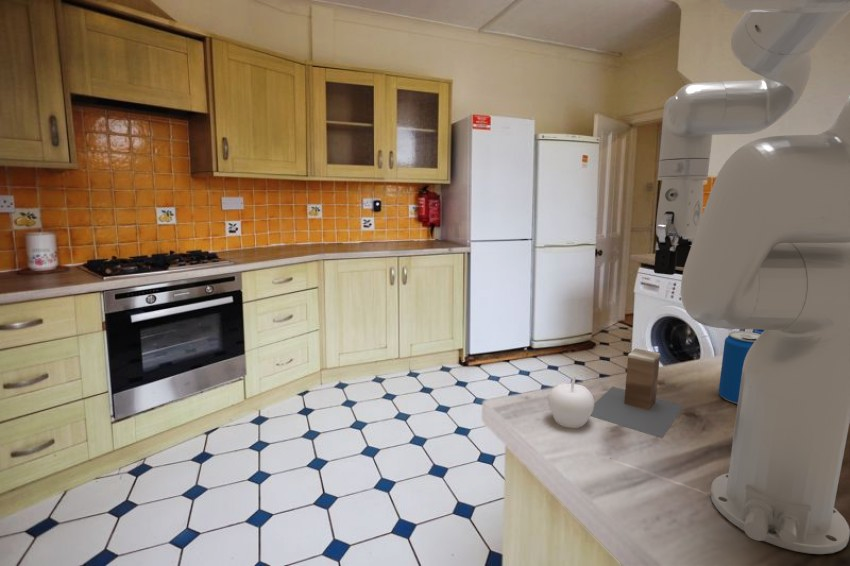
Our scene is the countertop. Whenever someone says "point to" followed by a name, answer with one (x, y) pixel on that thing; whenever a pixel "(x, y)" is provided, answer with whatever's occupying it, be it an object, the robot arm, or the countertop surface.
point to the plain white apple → (571, 404)
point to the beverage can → (734, 363)
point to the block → (642, 378)
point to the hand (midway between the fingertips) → (673, 270)
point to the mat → (636, 413)
